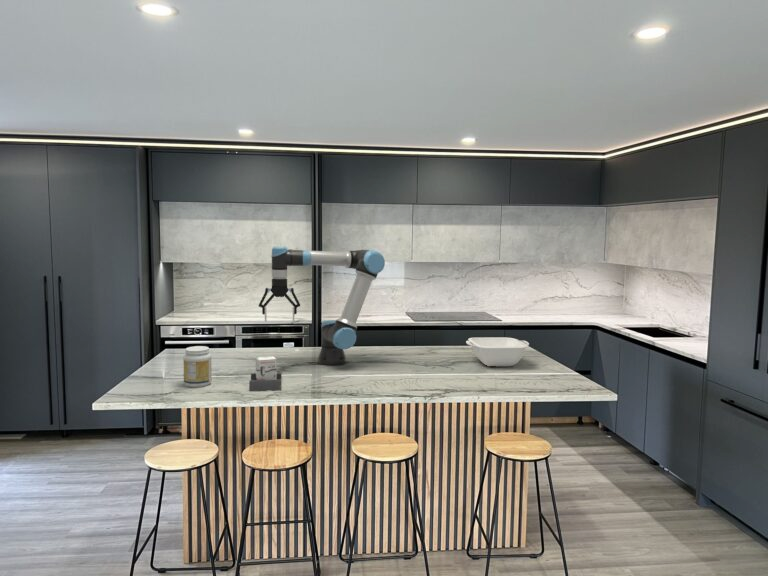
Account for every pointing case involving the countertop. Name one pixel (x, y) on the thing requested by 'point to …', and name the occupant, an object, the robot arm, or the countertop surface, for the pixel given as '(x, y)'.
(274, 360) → the ink box
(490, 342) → the baking dish
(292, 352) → the countertop surface
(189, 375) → the supplement tub
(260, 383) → the cradle
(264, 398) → the countertop surface
